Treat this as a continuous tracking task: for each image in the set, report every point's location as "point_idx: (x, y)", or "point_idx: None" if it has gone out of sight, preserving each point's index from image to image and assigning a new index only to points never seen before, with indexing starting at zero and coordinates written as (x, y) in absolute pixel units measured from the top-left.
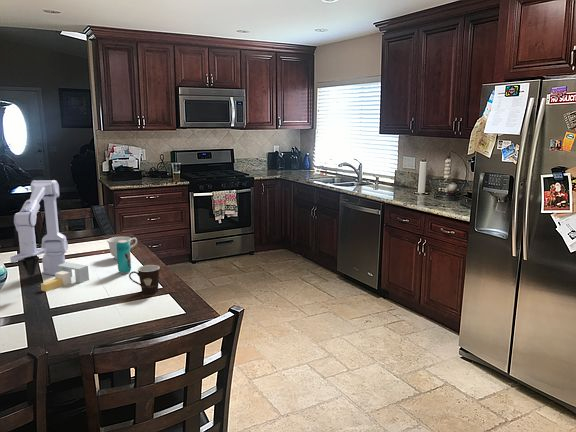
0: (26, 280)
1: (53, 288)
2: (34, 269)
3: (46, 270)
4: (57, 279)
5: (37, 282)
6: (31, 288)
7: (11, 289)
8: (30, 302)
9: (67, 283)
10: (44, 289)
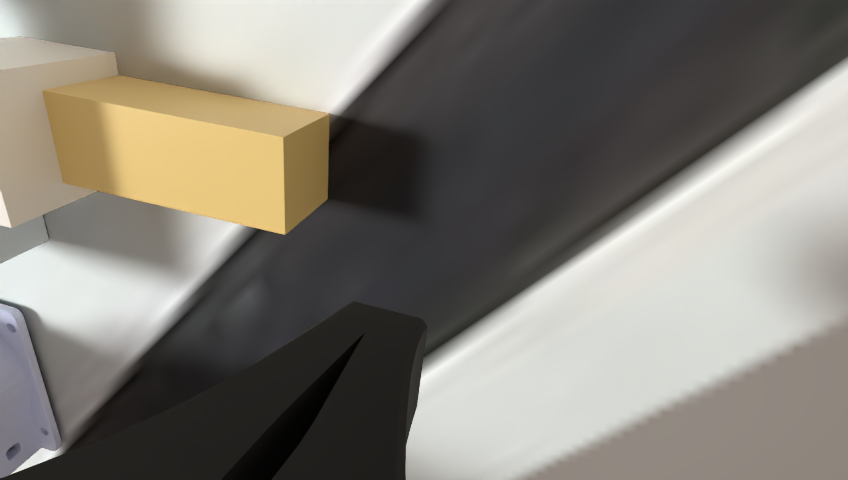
0: None
1: (232, 97)
2: (287, 363)
3: (19, 430)
4: (86, 132)
5: (195, 370)
6: None
7: (407, 476)
8: (735, 28)
9: (59, 45)
10: (318, 154)
